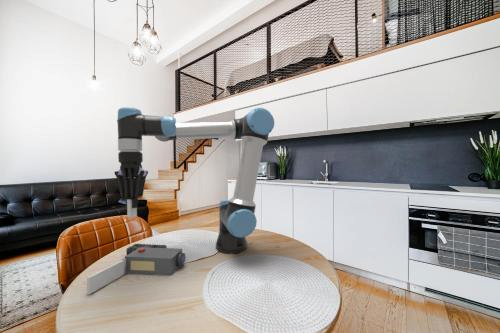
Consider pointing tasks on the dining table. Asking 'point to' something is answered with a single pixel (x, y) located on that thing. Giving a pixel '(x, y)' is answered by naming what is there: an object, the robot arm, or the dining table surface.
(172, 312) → the dining table surface
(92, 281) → the side door
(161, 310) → the dining table surface
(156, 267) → the camera body
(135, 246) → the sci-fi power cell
